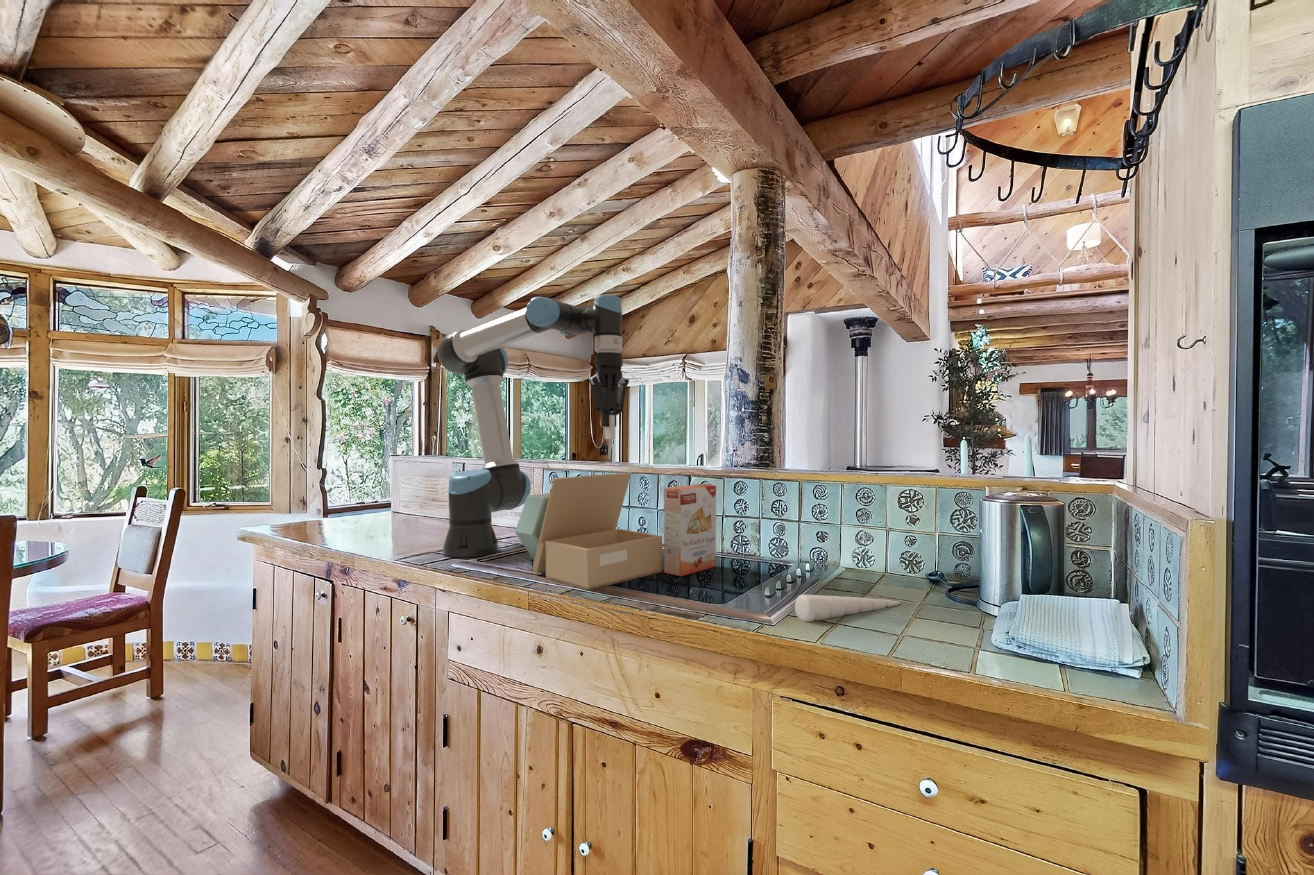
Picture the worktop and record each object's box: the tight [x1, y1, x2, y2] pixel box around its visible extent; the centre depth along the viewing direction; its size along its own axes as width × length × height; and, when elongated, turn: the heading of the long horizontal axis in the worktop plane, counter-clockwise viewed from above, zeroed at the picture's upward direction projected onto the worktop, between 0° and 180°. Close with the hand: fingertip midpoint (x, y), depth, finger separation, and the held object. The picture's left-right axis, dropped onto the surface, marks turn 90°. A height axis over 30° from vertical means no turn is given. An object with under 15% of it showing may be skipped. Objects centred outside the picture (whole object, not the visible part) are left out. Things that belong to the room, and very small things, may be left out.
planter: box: [514, 492, 550, 560], centre depth 164 cm, size 17×8×21 cm
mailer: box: [545, 528, 663, 591], centre depth 144 cm, size 16×23×9 cm
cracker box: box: [663, 483, 717, 577], centre depth 148 cm, size 14×6×21 cm, turn 137°
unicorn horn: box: [794, 594, 901, 623], centre depth 113 cm, size 5×24×5 cm, turn 109°
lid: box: [531, 471, 632, 575], centre depth 150 cm, size 25×24×2 cm
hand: (609, 438), depth 165 cm, fingers closed
